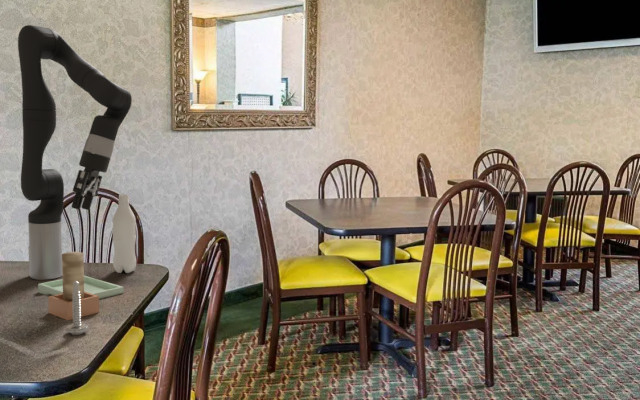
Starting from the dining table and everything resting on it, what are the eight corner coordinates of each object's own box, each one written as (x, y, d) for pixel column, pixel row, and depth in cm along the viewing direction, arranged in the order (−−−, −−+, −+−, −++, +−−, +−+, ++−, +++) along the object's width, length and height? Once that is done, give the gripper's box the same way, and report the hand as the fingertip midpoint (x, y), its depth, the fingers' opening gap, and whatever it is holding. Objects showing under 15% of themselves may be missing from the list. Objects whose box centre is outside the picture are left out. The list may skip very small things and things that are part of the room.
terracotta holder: (48, 316, 159) (48, 296, 158) (79, 308, 166) (79, 289, 165) (68, 323, 154) (67, 303, 153) (99, 315, 160) (99, 296, 160)
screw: (86, 339, 143) (63, 340, 142) (89, 332, 148) (67, 333, 147) (85, 283, 141) (62, 283, 140) (88, 277, 146) (66, 278, 145)
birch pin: (59, 312, 159) (57, 254, 157) (77, 308, 163) (76, 251, 161) (70, 316, 156) (69, 257, 154) (88, 312, 160) (87, 254, 158)
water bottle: (129, 275, 201) (128, 196, 198) (108, 273, 203) (107, 195, 199) (140, 269, 208) (139, 194, 205) (120, 268, 210) (119, 193, 206)
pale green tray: (38, 292, 179) (38, 283, 179) (82, 283, 190) (82, 274, 190) (78, 306, 167) (78, 297, 167) (123, 295, 178) (123, 286, 178)
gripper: (91, 152, 184) (75, 206, 183) (75, 146, 170) (58, 204, 169) (117, 159, 185) (100, 213, 184) (103, 154, 170) (85, 212, 169)
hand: (80, 208), depth 176 cm, fingers open, 8 cm apart
